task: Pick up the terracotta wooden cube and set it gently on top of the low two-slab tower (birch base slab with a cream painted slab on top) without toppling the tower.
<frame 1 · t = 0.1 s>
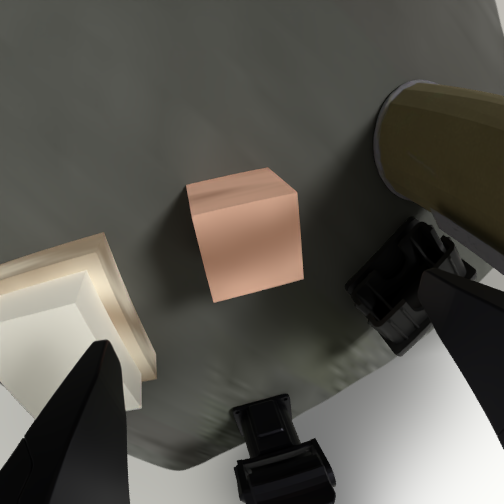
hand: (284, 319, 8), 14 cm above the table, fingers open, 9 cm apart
cream top slab: (58, 341, 20), point 3 cm above the table, touching birch base slab
birch base slab: (67, 312, 23), on the table, touching cream top slab
terracotta cube: (233, 213, 22), on the table
end cap: (393, 268, 29), on the table
canister: (419, 142, 23), on the table
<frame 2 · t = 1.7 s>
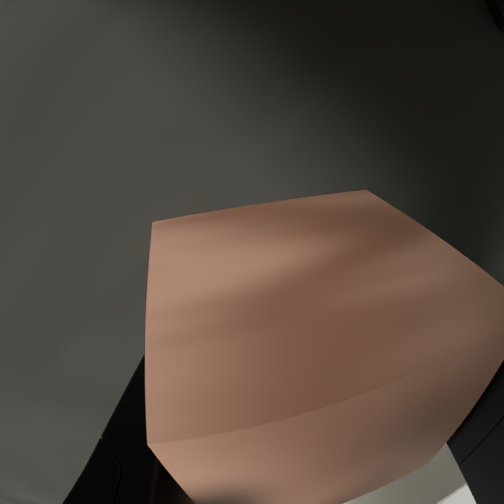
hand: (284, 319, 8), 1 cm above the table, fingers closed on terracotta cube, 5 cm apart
cream top slab: (364, 491, 15), point 3 cm above the table, touching birch base slab
terracotta cube: (272, 294, 9), on the table, touching gripper
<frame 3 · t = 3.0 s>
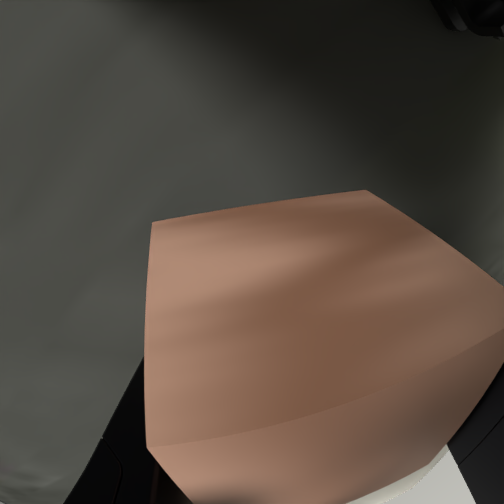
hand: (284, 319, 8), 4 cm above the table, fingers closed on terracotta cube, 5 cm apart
cream top slab: (348, 458, 17), point 3 cm above the table, touching birch base slab
terracotta cube: (272, 295, 9), point 3 cm above the table, touching gripper
when the fingers open (9 cm above the table, at t = 6.0 s): terracotta cube drops 2 cm, point 6 cm above the table.
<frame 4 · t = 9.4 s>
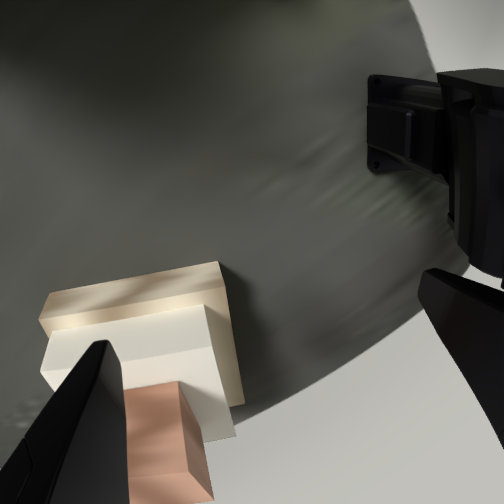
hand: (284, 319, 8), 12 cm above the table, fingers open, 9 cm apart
cream top slab: (146, 373, 20), point 3 cm above the table, touching birch base slab
birch base slab: (151, 338, 23), on the table, touching cream top slab
terracotta cube: (147, 414, 17), point 6 cm above the table
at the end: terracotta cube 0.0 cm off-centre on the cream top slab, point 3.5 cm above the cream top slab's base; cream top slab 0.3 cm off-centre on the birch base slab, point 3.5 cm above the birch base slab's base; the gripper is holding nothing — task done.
